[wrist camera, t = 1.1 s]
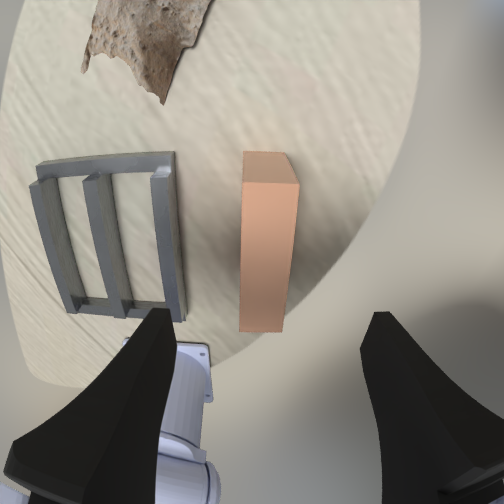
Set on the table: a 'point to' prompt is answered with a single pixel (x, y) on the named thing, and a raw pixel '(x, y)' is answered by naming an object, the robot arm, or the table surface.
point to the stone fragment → (145, 36)
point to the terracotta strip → (266, 239)
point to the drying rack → (110, 232)
